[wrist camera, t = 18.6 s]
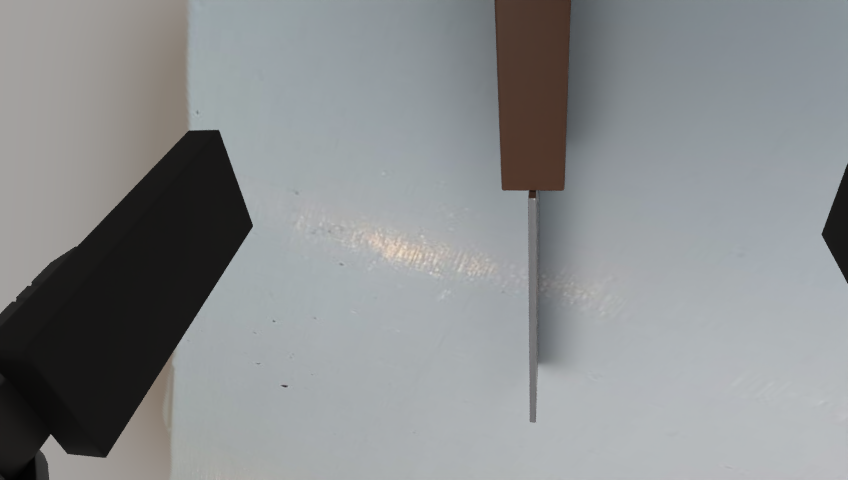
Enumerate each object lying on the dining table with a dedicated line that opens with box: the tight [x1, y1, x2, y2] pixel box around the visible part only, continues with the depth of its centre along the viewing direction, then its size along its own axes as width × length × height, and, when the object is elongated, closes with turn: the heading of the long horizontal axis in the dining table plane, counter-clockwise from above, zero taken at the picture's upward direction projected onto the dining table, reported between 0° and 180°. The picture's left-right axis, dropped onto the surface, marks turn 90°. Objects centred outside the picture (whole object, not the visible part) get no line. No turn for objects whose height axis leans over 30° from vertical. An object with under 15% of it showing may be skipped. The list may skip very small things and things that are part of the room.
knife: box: [495, 0, 571, 423], centre depth 26 cm, size 24×2×4 cm, turn 6°
